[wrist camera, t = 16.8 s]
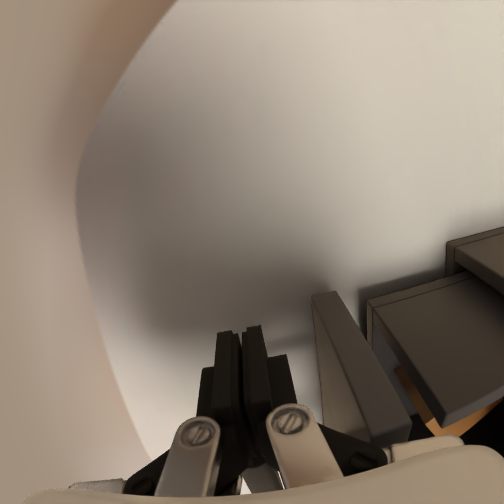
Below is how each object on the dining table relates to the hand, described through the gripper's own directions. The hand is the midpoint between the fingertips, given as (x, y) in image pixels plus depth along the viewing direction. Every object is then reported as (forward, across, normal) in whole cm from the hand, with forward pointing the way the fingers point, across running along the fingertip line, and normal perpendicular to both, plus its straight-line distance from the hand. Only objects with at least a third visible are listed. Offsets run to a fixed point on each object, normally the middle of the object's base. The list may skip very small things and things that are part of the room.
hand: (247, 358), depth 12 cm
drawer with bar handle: (+2, -8, +5) cm, 10 cm away
